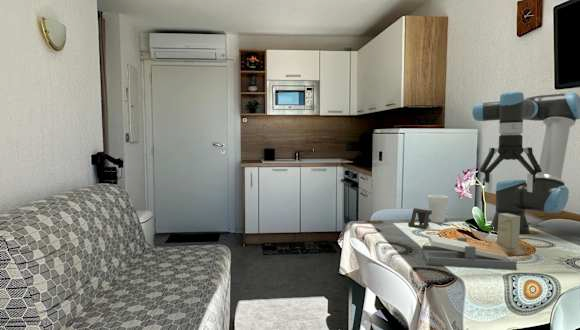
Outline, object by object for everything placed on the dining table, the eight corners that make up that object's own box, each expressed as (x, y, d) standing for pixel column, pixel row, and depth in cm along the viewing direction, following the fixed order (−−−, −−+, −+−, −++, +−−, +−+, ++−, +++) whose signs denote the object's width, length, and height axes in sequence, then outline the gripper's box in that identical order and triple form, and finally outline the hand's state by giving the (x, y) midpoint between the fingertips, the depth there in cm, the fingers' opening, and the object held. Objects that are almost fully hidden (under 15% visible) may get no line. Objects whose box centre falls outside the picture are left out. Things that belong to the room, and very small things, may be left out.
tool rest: (519, 246, 144) (519, 242, 144) (532, 256, 132) (532, 252, 132) (485, 245, 147) (485, 241, 147) (495, 254, 135) (495, 250, 135)
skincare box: (496, 244, 142) (497, 213, 141) (505, 243, 143) (506, 212, 142) (510, 249, 136) (511, 216, 135) (519, 248, 137) (520, 215, 136)
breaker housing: (500, 255, 134) (500, 238, 134) (516, 269, 120) (516, 250, 119) (422, 251, 140) (422, 235, 139) (428, 264, 125) (428, 246, 125)
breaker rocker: (497, 252, 132) (499, 247, 131) (507, 261, 123) (508, 255, 123) (427, 238, 136) (428, 233, 136) (431, 245, 127) (432, 240, 127)
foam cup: (448, 220, 191) (449, 195, 190) (445, 224, 184) (446, 198, 183) (429, 218, 196) (429, 194, 196) (425, 222, 189) (426, 196, 188)
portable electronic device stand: (407, 226, 180) (407, 209, 179) (416, 223, 185) (416, 207, 185) (424, 229, 174) (425, 212, 173) (432, 226, 179) (433, 209, 178)
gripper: (476, 135, 136) (475, 192, 137) (553, 133, 130) (551, 193, 132) (471, 135, 143) (470, 189, 144) (543, 134, 138) (542, 190, 139)
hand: (509, 191), depth 138 cm, fingers open, 13 cm apart
